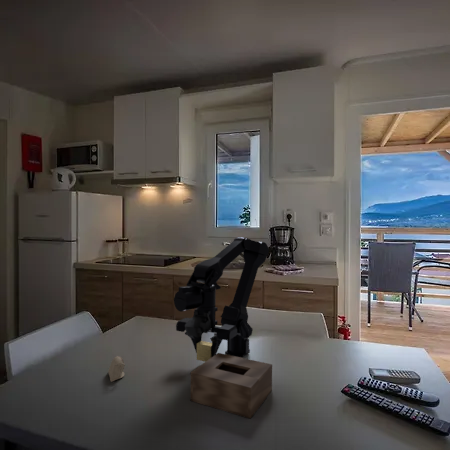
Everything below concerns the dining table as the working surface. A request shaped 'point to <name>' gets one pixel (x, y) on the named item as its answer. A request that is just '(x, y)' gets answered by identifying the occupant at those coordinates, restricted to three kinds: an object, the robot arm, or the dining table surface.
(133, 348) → the dining table surface
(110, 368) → the decorative ornament
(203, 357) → the yellow square block
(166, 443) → the dining table surface
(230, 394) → the walnut box
